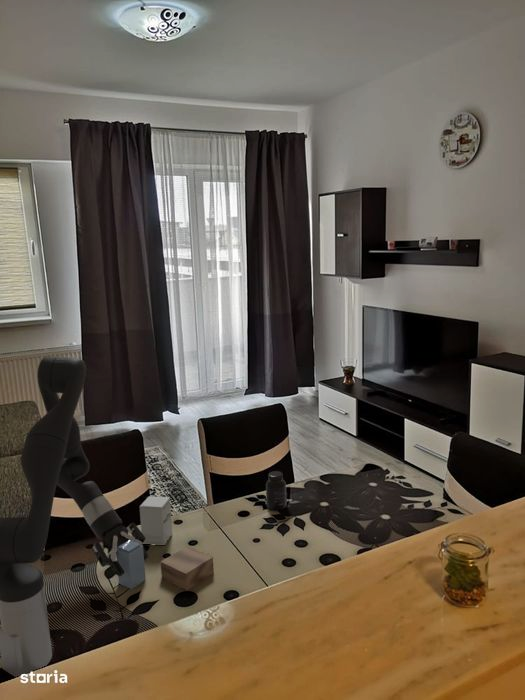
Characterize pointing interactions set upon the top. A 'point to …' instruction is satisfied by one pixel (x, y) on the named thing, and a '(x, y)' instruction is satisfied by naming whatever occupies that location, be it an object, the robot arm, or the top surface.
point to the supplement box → (156, 520)
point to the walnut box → (187, 567)
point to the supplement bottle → (276, 491)
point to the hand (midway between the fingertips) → (134, 566)
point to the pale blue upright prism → (131, 564)
